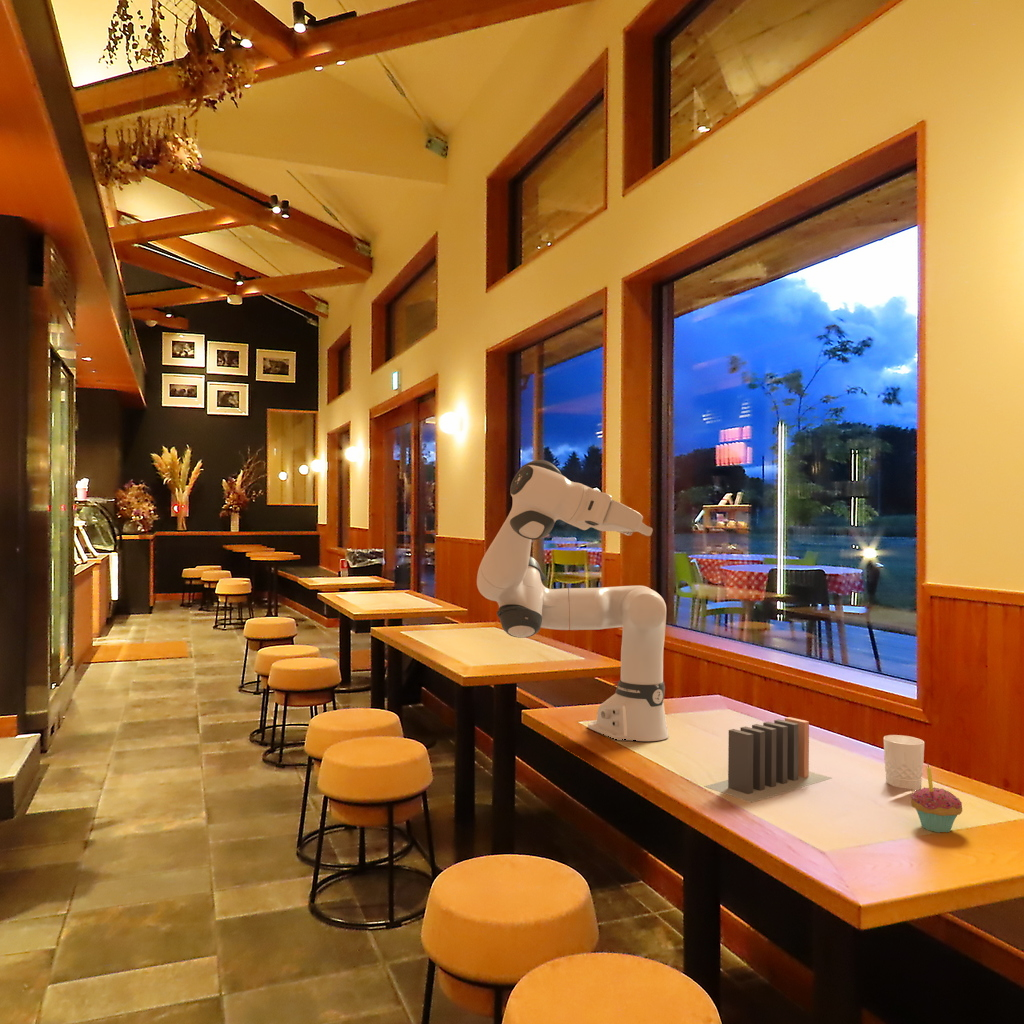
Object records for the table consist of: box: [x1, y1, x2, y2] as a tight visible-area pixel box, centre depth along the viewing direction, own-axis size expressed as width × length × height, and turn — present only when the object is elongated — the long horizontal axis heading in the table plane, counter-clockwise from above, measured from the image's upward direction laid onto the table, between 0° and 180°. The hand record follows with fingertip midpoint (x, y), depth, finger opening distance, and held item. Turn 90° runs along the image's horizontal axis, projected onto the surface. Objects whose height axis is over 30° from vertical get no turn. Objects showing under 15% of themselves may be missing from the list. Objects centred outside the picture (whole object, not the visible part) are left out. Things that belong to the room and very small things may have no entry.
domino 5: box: [773, 718, 798, 781], centre depth 177 cm, size 5×2×12 cm, turn 37°
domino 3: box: [751, 723, 777, 787], centre depth 173 cm, size 5×2×12 cm, turn 37°
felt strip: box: [704, 771, 832, 803], centre depth 174 cm, size 12×28×1 cm, turn 127°
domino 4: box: [762, 721, 788, 784], centre depth 175 cm, size 5×2×12 cm, turn 37°
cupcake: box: [910, 762, 963, 833], centre depth 150 cm, size 9×8×12 cm
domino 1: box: [727, 728, 753, 794], centre depth 168 cm, size 5×2×12 cm, turn 37°
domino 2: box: [739, 726, 765, 791], centre depth 170 cm, size 5×2×12 cm, turn 37°
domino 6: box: [784, 716, 810, 778], centre depth 180 cm, size 5×2×12 cm, turn 37°
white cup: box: [883, 734, 925, 792], centre depth 174 cm, size 8×8×10 cm
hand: (640, 532), depth 176 cm, fingers open, 8 cm apart
